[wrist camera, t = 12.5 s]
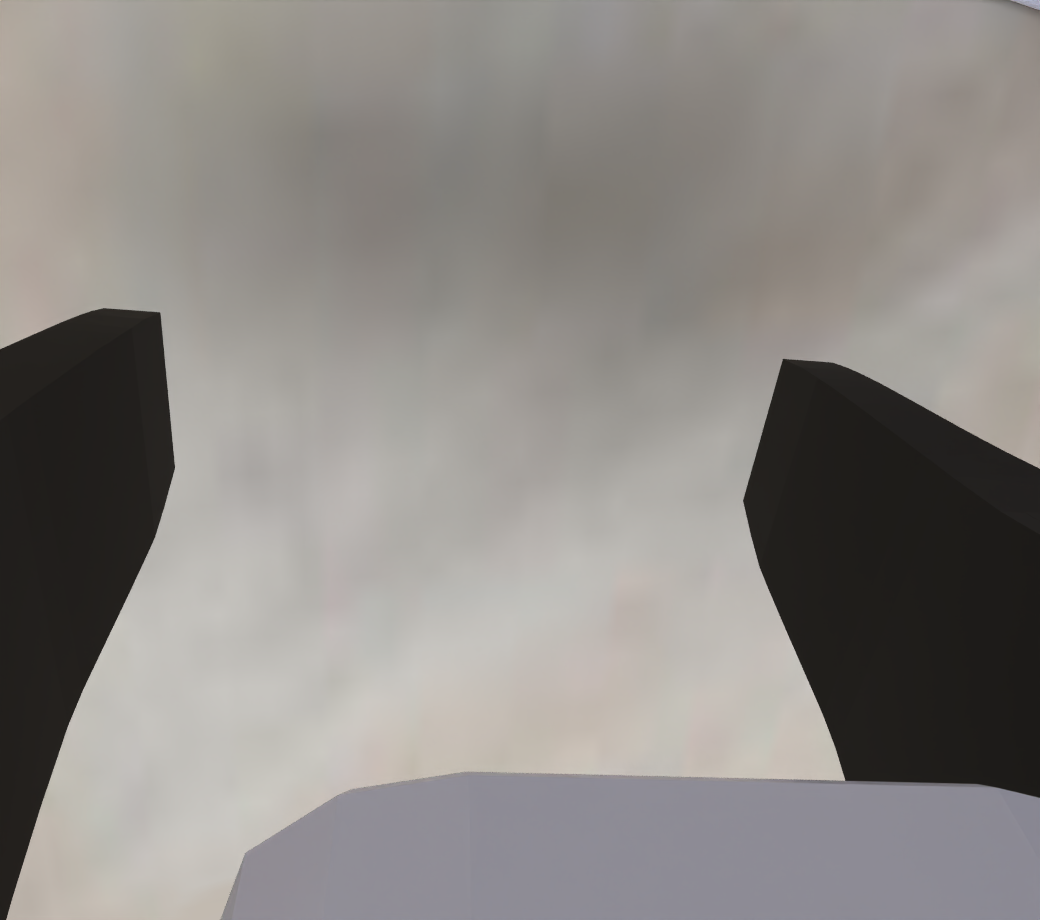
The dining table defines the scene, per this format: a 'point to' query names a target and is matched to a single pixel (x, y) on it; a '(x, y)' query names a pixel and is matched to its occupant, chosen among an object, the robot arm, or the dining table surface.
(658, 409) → the dining table surface
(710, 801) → the robot arm
